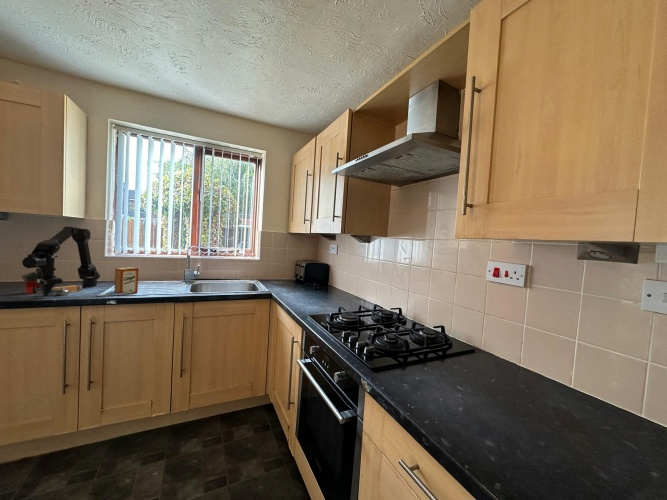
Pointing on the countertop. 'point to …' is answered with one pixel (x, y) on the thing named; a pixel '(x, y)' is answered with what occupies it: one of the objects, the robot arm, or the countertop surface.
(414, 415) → the countertop surface
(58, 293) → the crank handle
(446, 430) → the countertop surface
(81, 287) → the tool board
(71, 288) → the orange rectangular bar
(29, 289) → the canned food
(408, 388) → the countertop surface
